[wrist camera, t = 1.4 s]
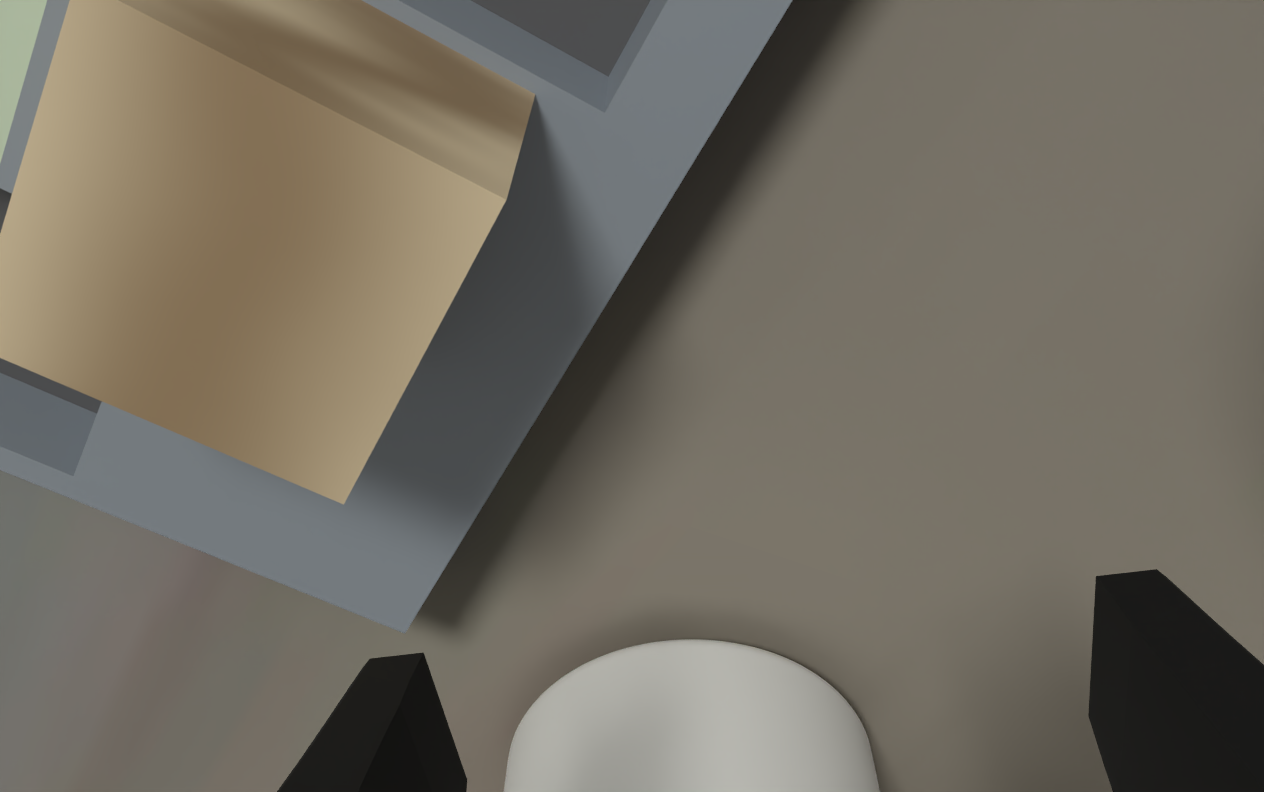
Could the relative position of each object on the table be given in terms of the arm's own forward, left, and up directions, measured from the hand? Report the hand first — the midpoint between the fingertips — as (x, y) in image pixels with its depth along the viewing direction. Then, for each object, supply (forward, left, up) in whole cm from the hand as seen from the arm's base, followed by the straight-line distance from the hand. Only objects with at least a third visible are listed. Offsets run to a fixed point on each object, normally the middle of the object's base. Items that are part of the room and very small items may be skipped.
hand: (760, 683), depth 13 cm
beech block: (+7, 0, -7) cm, 10 cm away
